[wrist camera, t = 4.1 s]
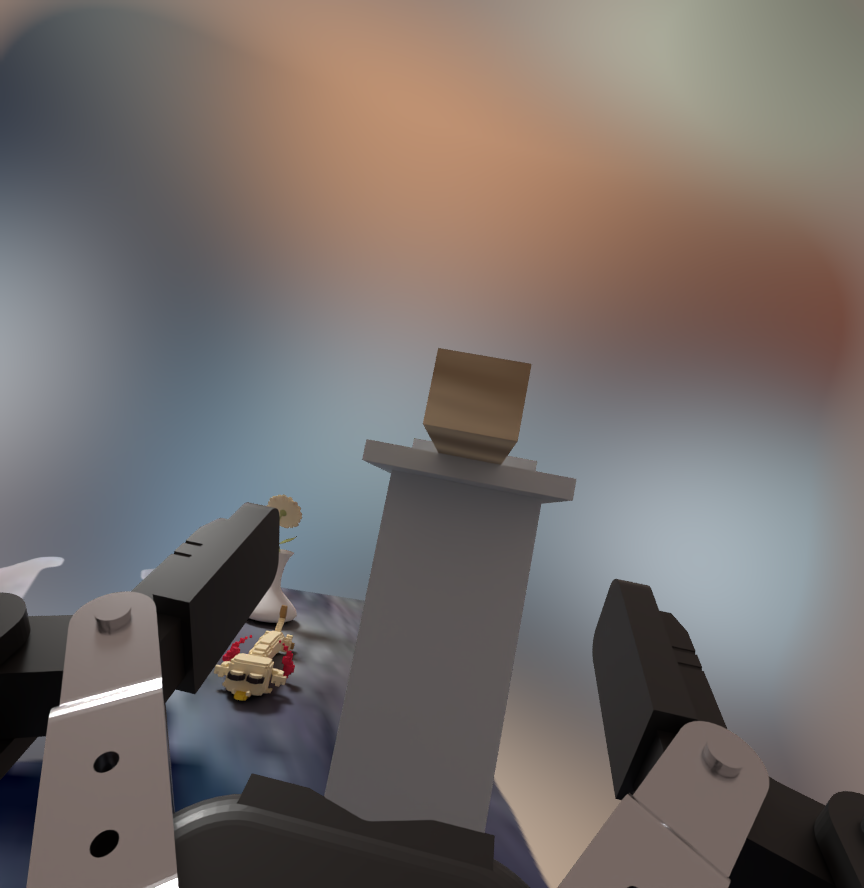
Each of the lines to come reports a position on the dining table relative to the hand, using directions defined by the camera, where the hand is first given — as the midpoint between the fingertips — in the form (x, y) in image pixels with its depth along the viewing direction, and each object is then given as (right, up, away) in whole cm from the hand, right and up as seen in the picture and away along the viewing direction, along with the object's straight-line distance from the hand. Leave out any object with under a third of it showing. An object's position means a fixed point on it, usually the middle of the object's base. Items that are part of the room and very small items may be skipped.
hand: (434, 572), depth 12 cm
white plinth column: (-3, -30, +24) cm, 39 cm away
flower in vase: (-34, -32, +93) cm, 104 cm away
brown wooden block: (+2, +2, +20) cm, 20 cm away
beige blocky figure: (-26, -31, +65) cm, 76 cm away
